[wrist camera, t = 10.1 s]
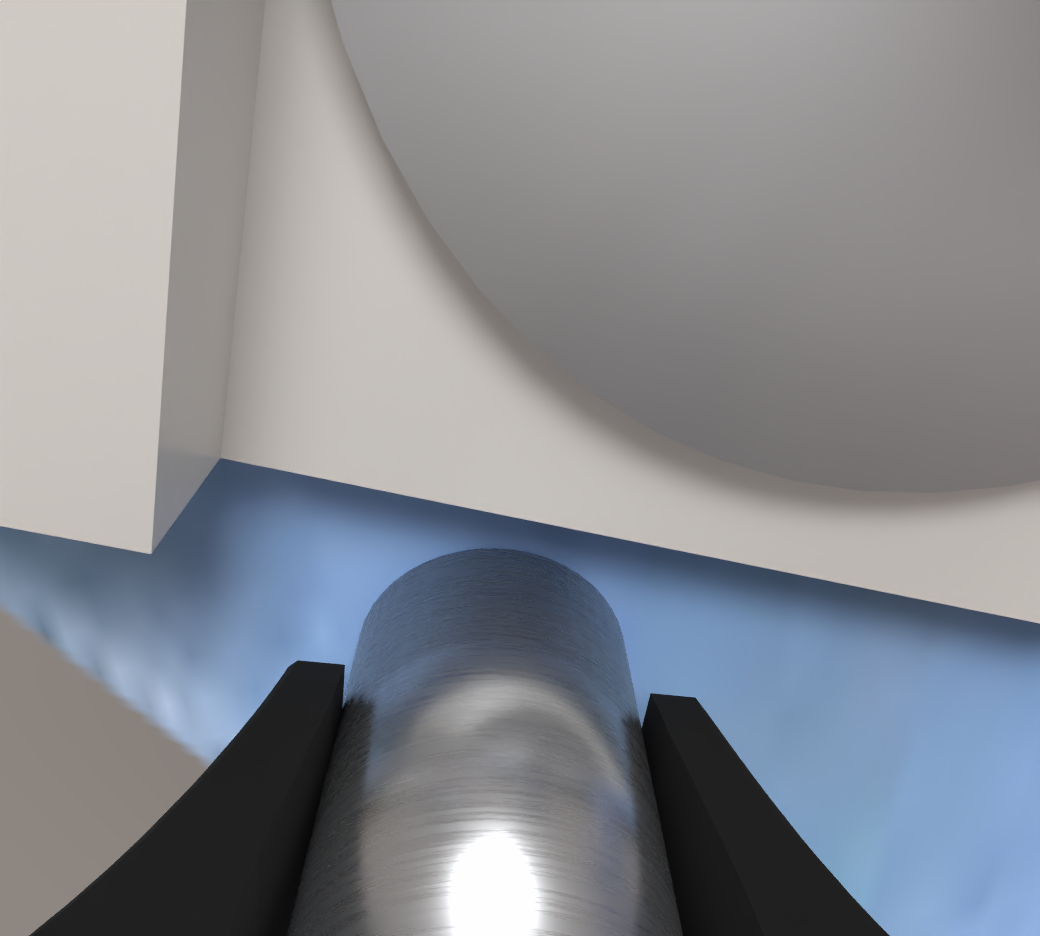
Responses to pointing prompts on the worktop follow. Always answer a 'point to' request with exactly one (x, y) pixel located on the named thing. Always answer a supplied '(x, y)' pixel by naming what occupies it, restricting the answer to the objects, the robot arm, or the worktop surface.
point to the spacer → (488, 766)
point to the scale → (538, 270)
